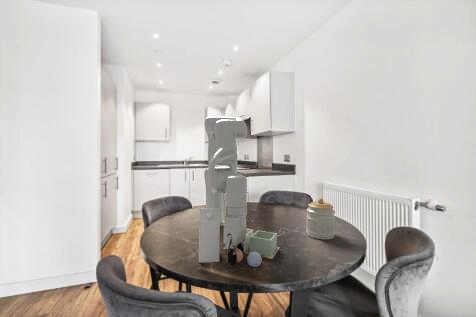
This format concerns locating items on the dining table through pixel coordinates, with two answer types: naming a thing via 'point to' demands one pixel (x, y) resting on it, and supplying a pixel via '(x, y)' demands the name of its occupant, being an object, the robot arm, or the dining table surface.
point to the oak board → (263, 255)
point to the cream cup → (246, 239)
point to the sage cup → (263, 243)
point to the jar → (320, 220)
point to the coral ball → (239, 255)
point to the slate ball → (254, 259)
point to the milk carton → (209, 234)
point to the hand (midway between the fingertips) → (235, 260)
